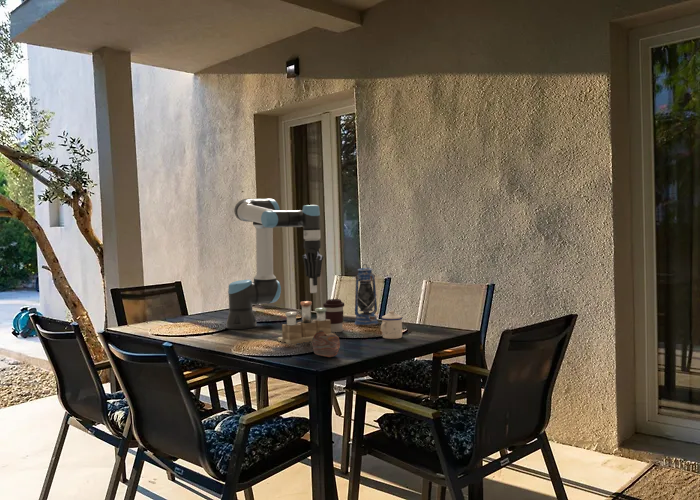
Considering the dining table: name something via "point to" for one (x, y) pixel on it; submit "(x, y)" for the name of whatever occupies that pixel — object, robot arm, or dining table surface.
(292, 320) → the cream plunger
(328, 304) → the coffee cup
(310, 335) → the beige boxy slotted piece
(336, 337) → the stone
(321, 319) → the sage plunger
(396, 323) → the white enamel mug
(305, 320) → the terracotta plunger
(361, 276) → the lantern
